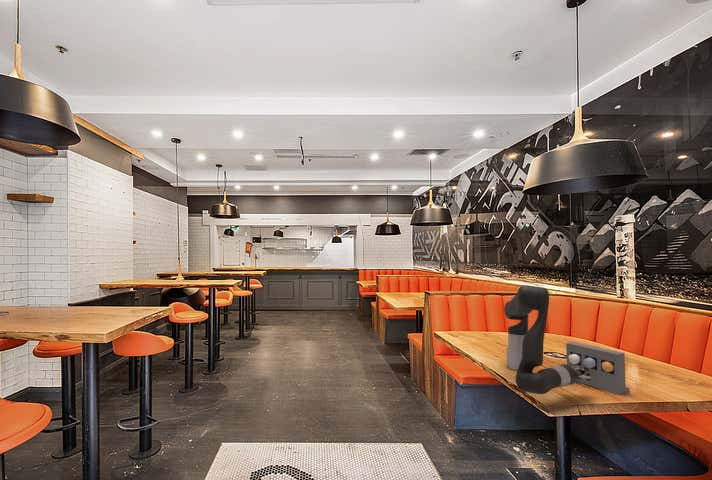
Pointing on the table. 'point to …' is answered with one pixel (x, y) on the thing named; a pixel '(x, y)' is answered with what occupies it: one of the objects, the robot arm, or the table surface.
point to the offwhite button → (575, 358)
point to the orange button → (608, 366)
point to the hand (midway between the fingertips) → (586, 369)
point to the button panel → (600, 367)
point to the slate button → (590, 362)
